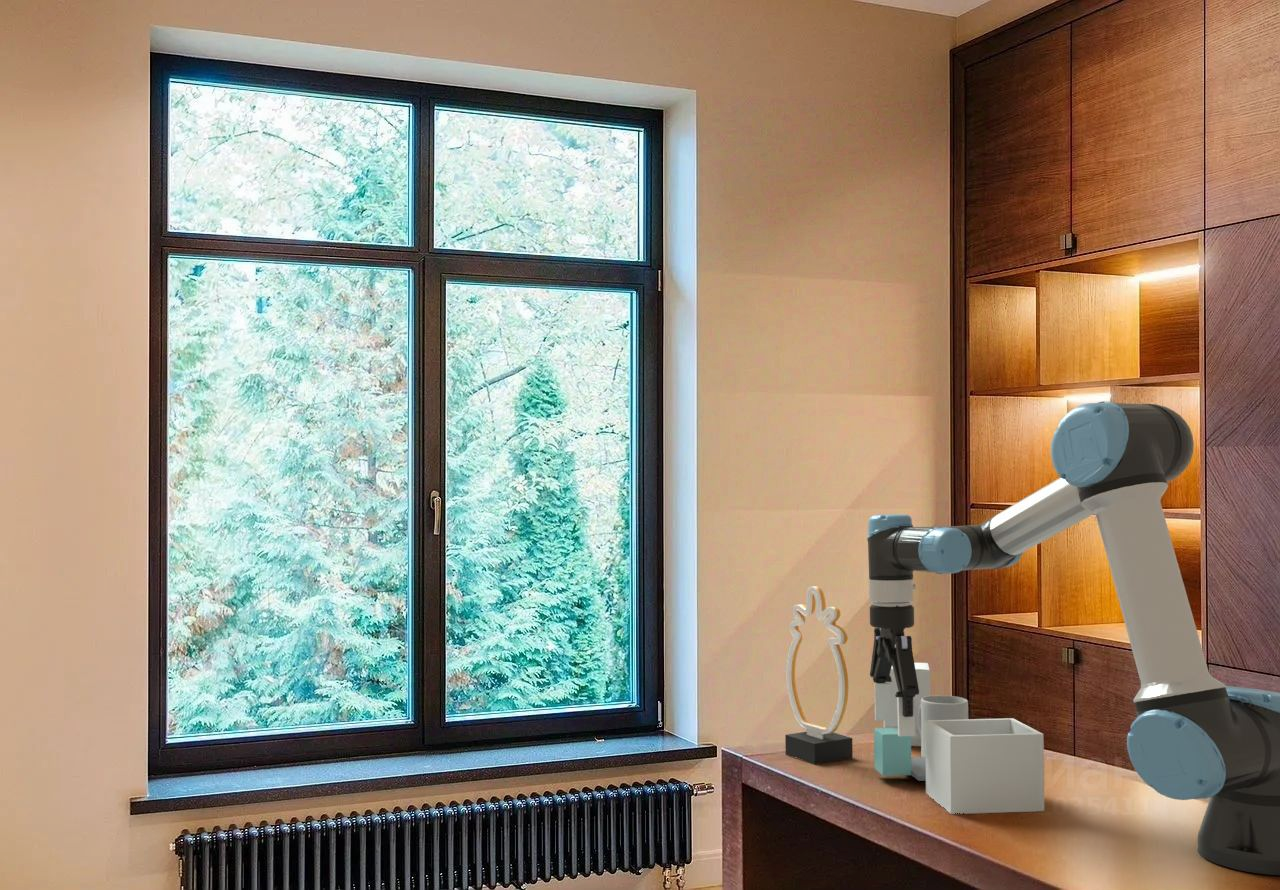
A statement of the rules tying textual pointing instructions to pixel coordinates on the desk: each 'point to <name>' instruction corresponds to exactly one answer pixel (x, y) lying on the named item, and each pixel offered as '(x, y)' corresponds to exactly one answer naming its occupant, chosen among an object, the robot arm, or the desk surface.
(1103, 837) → the desk surface
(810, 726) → the lamp
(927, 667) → the supplement box
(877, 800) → the desk surface
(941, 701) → the mug
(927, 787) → the tub
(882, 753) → the lid
